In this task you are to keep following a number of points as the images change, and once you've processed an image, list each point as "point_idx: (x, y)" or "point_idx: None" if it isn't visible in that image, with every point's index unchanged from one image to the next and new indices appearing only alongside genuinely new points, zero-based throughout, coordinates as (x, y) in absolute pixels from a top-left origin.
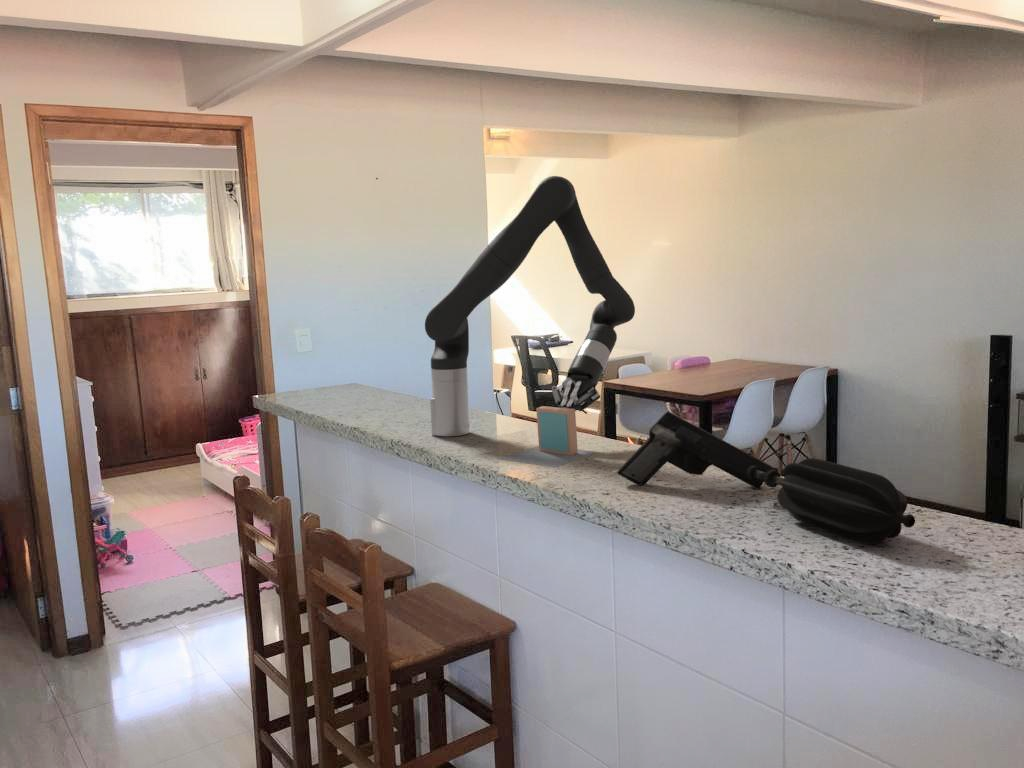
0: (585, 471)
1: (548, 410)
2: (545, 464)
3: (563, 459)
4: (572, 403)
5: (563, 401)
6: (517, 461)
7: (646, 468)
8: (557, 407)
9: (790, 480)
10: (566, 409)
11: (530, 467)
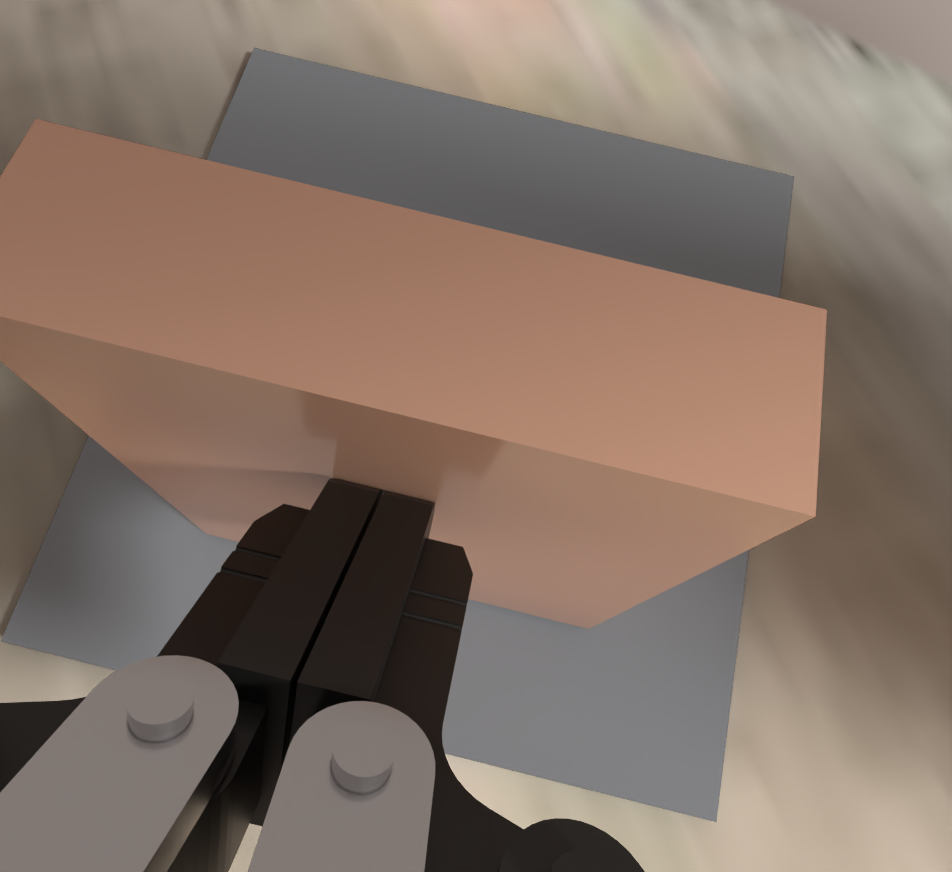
0: (17, 38)
1: (520, 248)
2: (351, 101)
3: None
4: (49, 746)
5: (365, 848)
6: (592, 132)
7: None
8: (395, 413)
9: None
10: (125, 256)
11: (441, 54)
